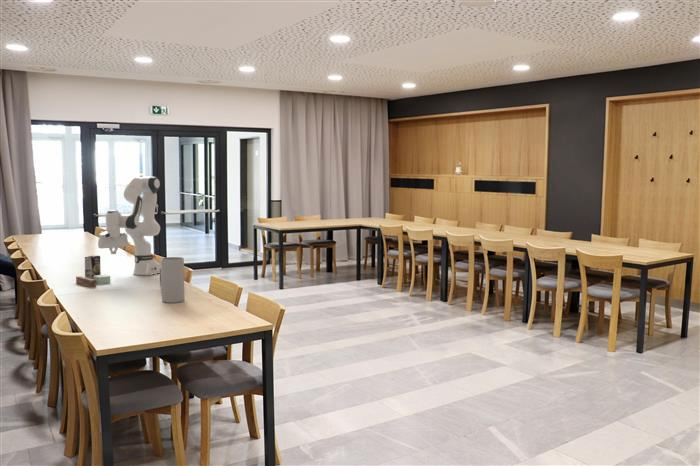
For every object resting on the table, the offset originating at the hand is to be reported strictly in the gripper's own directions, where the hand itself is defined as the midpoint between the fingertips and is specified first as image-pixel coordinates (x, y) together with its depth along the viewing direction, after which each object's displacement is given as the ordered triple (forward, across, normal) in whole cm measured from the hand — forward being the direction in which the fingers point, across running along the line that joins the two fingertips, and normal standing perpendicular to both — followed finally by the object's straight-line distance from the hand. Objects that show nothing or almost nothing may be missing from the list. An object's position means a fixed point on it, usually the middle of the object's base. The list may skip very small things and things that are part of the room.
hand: (113, 254), depth 410 cm
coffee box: (+19, +6, -17) cm, 26 cm away
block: (+19, +9, 0) cm, 21 cm away
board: (+19, +20, 0) cm, 27 cm away
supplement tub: (+19, -10, +50) cm, 54 cm away
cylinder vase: (+19, +11, +83) cm, 86 cm away
